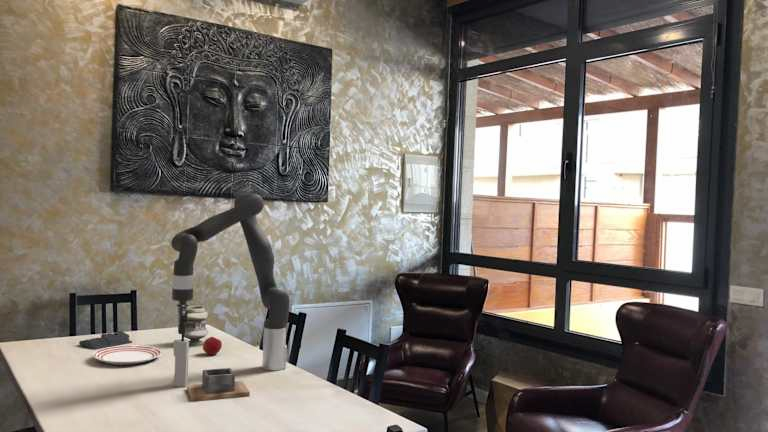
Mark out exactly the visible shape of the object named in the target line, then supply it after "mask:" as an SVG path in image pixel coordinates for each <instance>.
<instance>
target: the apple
mask: <svg viewBox="0 0 768 432" xmlns="http://www.w3.org/2000/svg"><path fill="white" fill-rule="evenodd" d="M203 342H204V344H203V346H202V350H203V351H204V353H206V354H208V355H210V356H214V355H218V354H217V353H219V352H220V351H221V349H222V346H223V342H222V341H221V340H220V339H218V338H216V337H214V336H210V337H208V338H206V339H205V340H204V341H203Z"/></svg>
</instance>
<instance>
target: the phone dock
mask: <svg viewBox="0 0 768 432" xmlns="http://www.w3.org/2000/svg"><path fill="white" fill-rule="evenodd" d="M235 380H236V374H235V372H234V371H233V370H232V368H231V367H225V368H210V369H203V370H202V379H201V384H199V383H198V384H190V385H189V384H186V391H187V393H188V395H189V399H190V401H191V402H200V401H201V402H202V401H209V400H221V399H233V398H234V399H235V398H243V397H250V395H251V394H250V393H251V392H250V390H249V389H248V386H246V384H245V383H244V382H243V381H242V380H237V381H235Z"/></svg>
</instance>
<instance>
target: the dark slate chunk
mask: <svg viewBox="0 0 768 432" xmlns="http://www.w3.org/2000/svg"><path fill="white" fill-rule="evenodd" d="M100 335H101V336H100V337H94V338H90V339H85V340H80V341H79V343H78V344H79V345H81V346H83V347H86V348H87V349H90V350H94V351H97V350H100V349H103V348H107V347H113V346H125V345H129V344H132V343H133V341H132V340H130V335H129V334H128V333H125V332H124V331H123V330H118V331H113V332H112V333H111V332H107V333H101V334H100Z"/></svg>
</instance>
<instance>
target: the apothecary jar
mask: <svg viewBox="0 0 768 432" xmlns="http://www.w3.org/2000/svg"><path fill="white" fill-rule="evenodd" d="M205 307H206V306H203V305H191V306H190V305H188V312H187V322H186V324H185V334H184V339H185V338H186V340H189V347H203V344H204V342H205V341H203V340H201V339H203V338H206V337H207V336H208V335H209V330H208V328H207V327H206V319H207V318H208V317H209V313H208V312H207V311H206V309H205Z"/></svg>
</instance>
